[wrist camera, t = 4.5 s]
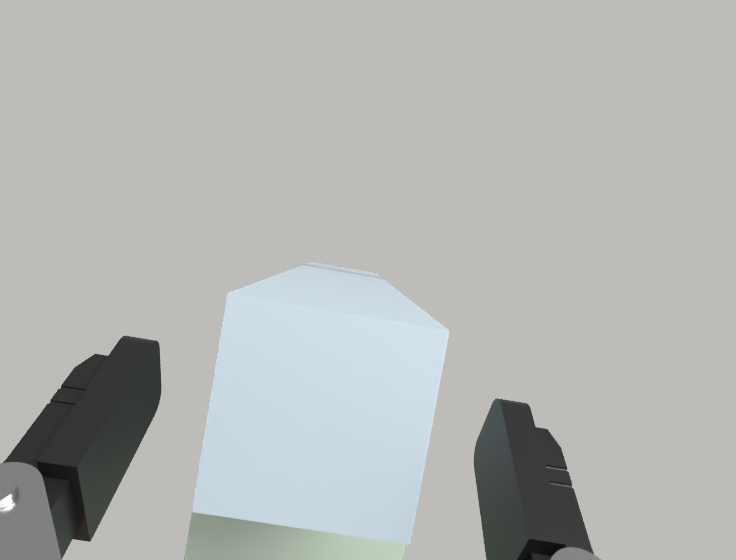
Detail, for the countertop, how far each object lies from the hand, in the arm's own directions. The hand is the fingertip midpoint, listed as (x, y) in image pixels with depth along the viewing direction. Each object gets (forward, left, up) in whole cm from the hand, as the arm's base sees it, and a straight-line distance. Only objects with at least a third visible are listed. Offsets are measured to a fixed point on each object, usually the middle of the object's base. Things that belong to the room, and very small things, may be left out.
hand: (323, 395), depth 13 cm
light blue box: (0, +12, -2) cm, 12 cm away
